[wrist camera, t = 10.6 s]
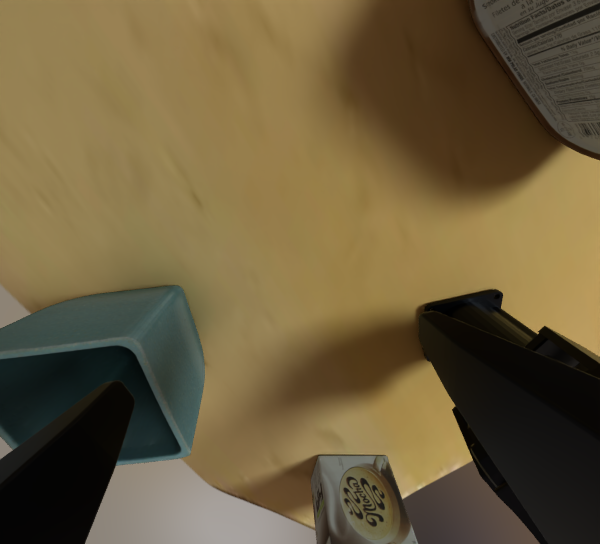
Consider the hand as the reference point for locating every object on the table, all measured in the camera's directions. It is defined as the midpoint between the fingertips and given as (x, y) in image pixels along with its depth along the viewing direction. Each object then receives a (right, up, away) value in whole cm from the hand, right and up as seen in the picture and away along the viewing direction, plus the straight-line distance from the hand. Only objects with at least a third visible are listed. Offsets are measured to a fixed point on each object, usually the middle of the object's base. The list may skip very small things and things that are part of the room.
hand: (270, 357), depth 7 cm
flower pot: (-11, -1, +13) cm, 17 cm away
